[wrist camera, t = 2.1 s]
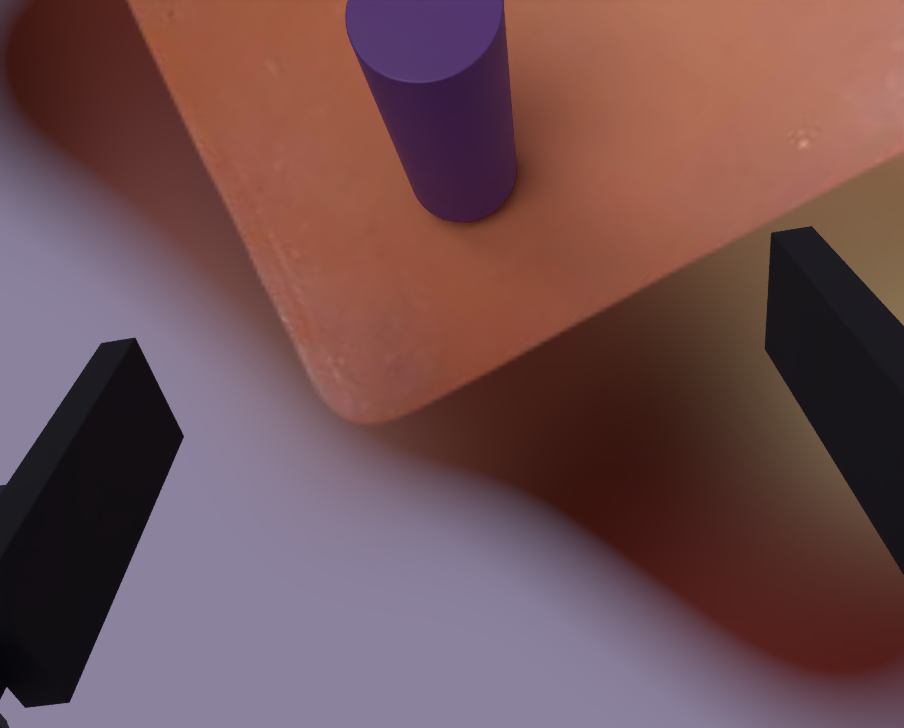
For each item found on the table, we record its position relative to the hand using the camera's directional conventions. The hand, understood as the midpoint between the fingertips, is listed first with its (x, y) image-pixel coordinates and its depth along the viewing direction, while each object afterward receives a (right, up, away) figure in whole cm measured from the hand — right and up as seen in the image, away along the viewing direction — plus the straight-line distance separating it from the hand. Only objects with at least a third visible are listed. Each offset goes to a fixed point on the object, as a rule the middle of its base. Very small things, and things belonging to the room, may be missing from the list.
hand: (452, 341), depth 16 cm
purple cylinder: (+1, +7, +17) cm, 18 cm away
